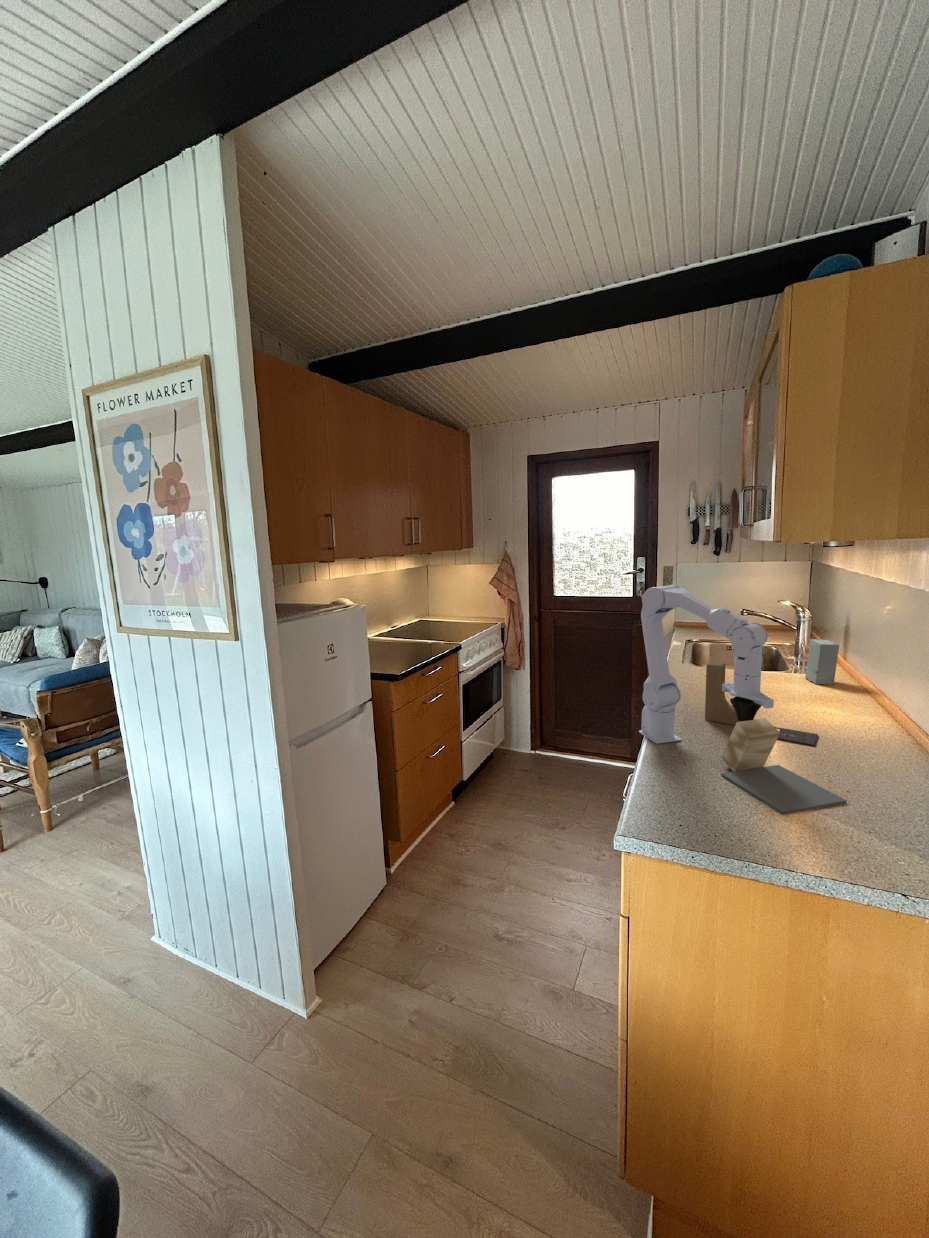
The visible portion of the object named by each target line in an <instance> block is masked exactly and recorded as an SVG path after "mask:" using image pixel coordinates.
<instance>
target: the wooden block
mask: <svg viewBox="0 0 929 1238" xmlns="http://www.w3.org/2000/svg"><path fill="white" fill-rule="evenodd" d="M726 664H727V663H725V662H717V661H710V662H708V663H707V664H706V666H705V667H706V670H705V671H706V672H705V673H706V675H705V700H704V701H705V704H704V709H705V710H704V719H705V720H706V721H709V722H715V723H720V724H726V725H731V726H735V725H736V722H738V718H737V715H736V712H735V709H734V707H733V705H732V704H730V703H729V702H728V701H727V698H726V695H725V693H726V692H723V691H722V684H726V667H727V665H726Z"/></svg>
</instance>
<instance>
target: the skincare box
mask: <svg viewBox="0 0 929 1238" xmlns="http://www.w3.org/2000/svg"><path fill="white" fill-rule="evenodd" d="M839 651H840V644H838V643H835V641H831V640H829V639H814V638H812V639H810V640H809V648H808V655H807V663H806V669H805V670H806V671H805V678H807V679H808V680H807V679H806V680H807V681H809V682H811V681H812V682H811V683H813V682H814V683H813V684H815V685H819V684H834V685H835V678H836V671H837V663H838V656H839Z"/></svg>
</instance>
